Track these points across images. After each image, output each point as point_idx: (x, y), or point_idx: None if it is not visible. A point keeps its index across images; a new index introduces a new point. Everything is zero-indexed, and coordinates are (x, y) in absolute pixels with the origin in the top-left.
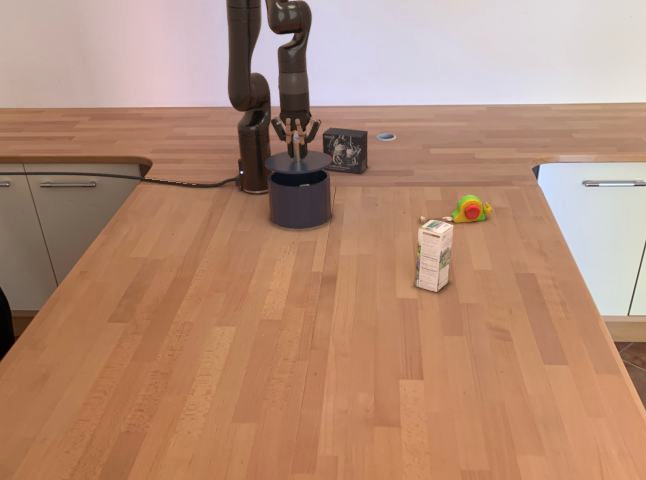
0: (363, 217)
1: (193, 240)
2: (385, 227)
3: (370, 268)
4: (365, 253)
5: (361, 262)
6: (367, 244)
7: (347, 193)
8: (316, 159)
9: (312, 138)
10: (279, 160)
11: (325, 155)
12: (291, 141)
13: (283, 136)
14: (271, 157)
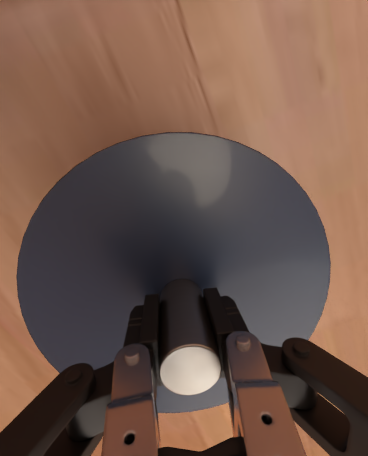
0: (305, 166)
1: (27, 382)
2: (361, 202)
3: (359, 354)
4: (342, 315)
5: (342, 343)
6: (339, 285)
7: (217, 3)
8: (258, 258)
9: (331, 405)
10: (98, 325)
11: (282, 191)
12: (156, 389)
13: (93, 439)
14: (35, 304)
